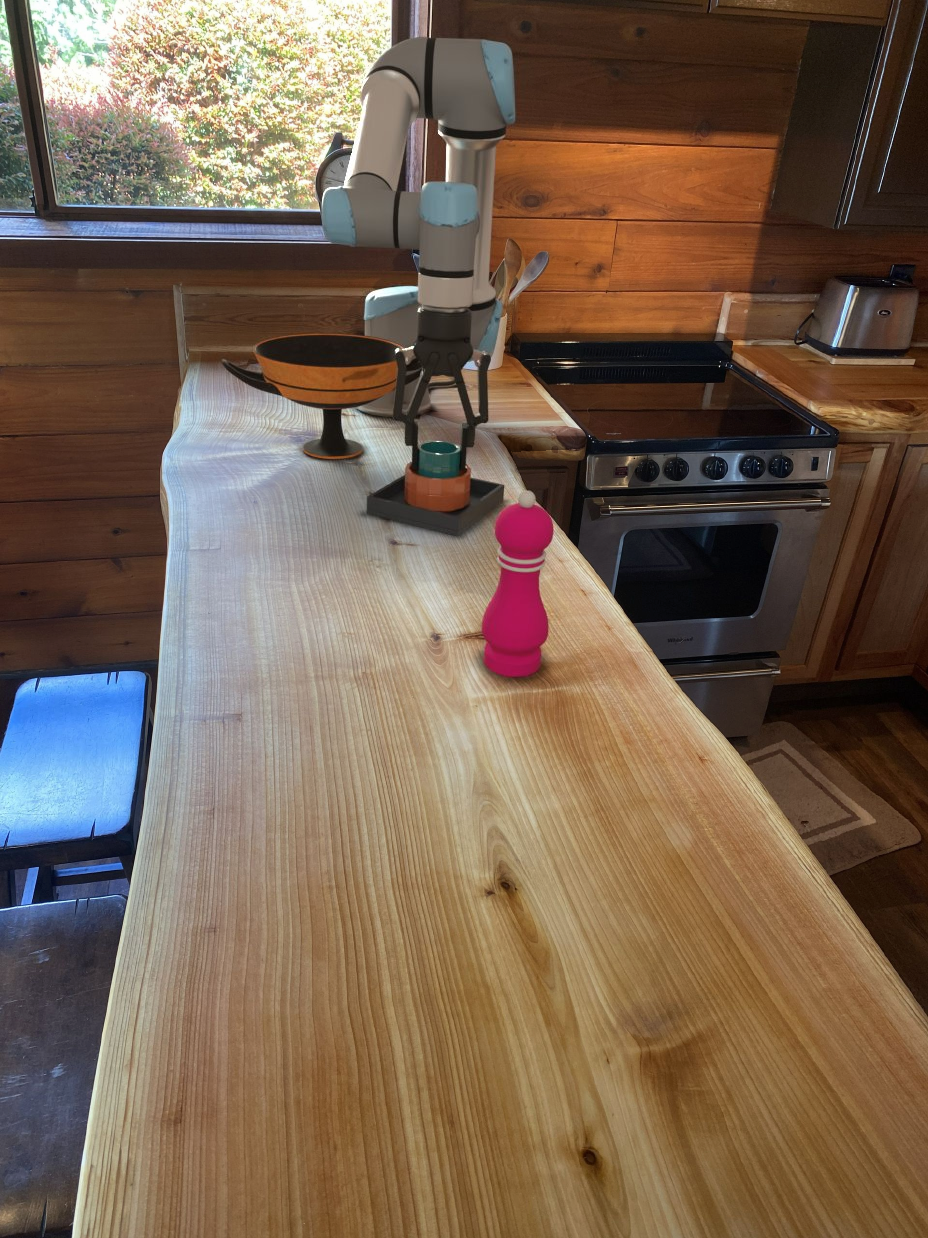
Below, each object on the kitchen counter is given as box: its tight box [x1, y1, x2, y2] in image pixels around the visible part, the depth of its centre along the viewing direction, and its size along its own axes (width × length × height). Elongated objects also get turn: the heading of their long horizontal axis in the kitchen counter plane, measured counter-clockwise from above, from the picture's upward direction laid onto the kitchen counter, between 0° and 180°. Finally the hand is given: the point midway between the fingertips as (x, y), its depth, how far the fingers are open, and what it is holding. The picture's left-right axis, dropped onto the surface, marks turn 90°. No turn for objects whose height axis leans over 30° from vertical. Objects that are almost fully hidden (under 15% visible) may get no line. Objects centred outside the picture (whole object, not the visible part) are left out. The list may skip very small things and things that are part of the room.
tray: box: [366, 474, 505, 537], centre depth 137 cm, size 16×15×3 cm
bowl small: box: [417, 440, 461, 479], centre depth 134 cm, size 6×6×4 cm
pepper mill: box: [480, 490, 555, 678], centre depth 94 cm, size 7×7×20 cm
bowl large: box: [404, 461, 472, 513], centre depth 136 cm, size 10×10×6 cm
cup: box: [220, 332, 423, 460], centre depth 155 cm, size 36×26×18 cm
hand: (438, 466), depth 135 cm, fingers closed on bowl small, 6 cm apart
